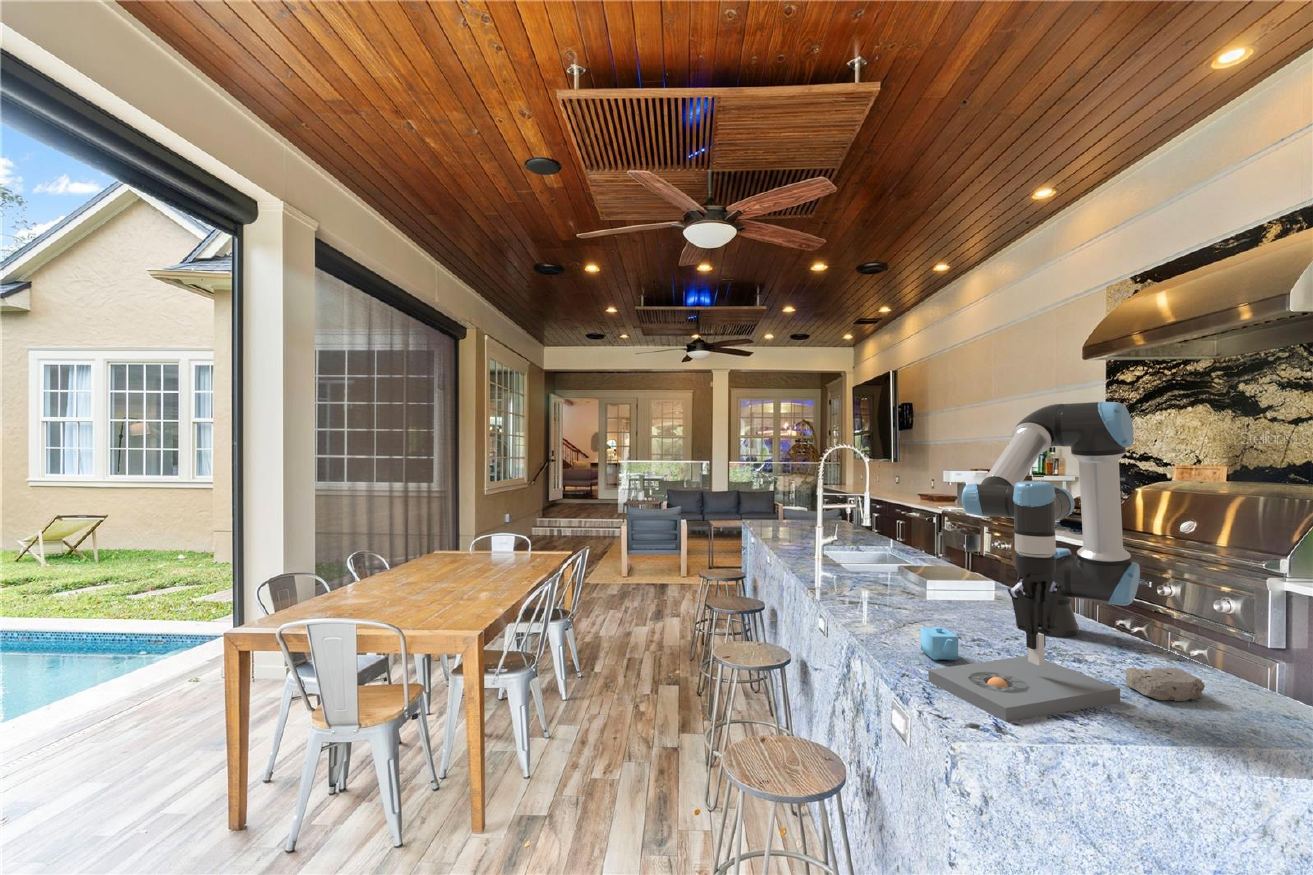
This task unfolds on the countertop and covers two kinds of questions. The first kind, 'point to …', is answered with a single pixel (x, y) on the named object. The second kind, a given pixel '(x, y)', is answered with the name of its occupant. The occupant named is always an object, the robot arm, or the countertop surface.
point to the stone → (1165, 683)
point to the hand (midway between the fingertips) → (1036, 662)
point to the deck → (1023, 688)
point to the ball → (997, 682)
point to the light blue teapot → (939, 643)
